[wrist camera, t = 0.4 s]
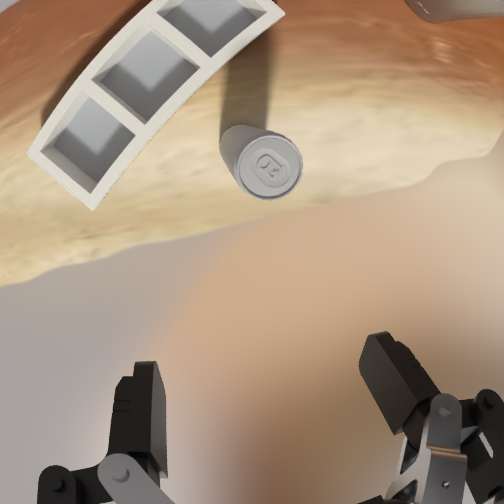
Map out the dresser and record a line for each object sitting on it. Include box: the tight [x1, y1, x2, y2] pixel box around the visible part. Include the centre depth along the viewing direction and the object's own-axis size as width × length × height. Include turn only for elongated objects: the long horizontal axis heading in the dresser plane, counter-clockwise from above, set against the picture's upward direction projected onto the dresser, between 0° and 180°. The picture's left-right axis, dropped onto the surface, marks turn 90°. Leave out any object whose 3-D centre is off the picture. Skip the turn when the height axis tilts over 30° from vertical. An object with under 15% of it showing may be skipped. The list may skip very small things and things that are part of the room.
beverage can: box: [219, 124, 303, 201], centre depth 25 cm, size 5×5×12 cm
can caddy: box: [26, 0, 285, 211], centre depth 23 cm, size 26×9×4 cm, turn 134°
